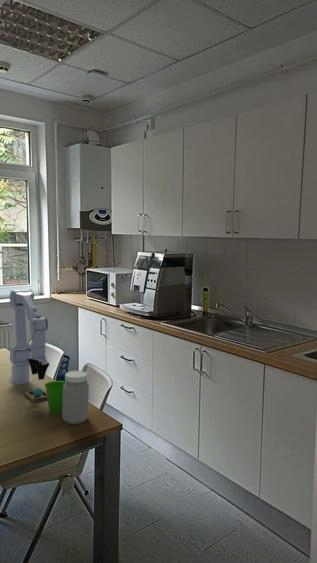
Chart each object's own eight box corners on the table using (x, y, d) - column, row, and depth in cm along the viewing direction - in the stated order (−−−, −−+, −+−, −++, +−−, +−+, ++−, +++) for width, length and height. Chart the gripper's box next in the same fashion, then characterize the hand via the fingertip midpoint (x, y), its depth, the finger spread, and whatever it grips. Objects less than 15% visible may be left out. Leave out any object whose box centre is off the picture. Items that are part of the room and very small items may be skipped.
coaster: (17, 391, 183) (17, 391, 183) (28, 389, 186) (28, 388, 186) (21, 395, 179) (21, 394, 179) (32, 393, 182) (32, 392, 182)
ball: (31, 395, 178) (31, 386, 177) (40, 393, 180) (40, 385, 180) (34, 399, 175) (35, 390, 174) (43, 397, 177) (44, 388, 177)
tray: (24, 395, 179) (24, 391, 179) (42, 392, 184) (42, 388, 184) (32, 403, 171) (32, 399, 171) (51, 399, 176) (51, 395, 176)
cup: (70, 407, 169) (71, 381, 168) (63, 416, 160) (63, 389, 159) (49, 405, 170) (49, 379, 169) (40, 414, 161) (41, 387, 160)
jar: (60, 415, 161) (61, 370, 159) (85, 413, 164) (86, 369, 162) (64, 426, 152) (65, 379, 150) (90, 423, 155) (91, 377, 153)
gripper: (23, 342, 179) (22, 373, 180) (35, 350, 167) (35, 383, 169) (38, 341, 183) (38, 370, 184) (52, 348, 171) (51, 380, 173)
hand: (37, 376), depth 177 cm, fingers open, 7 cm apart
